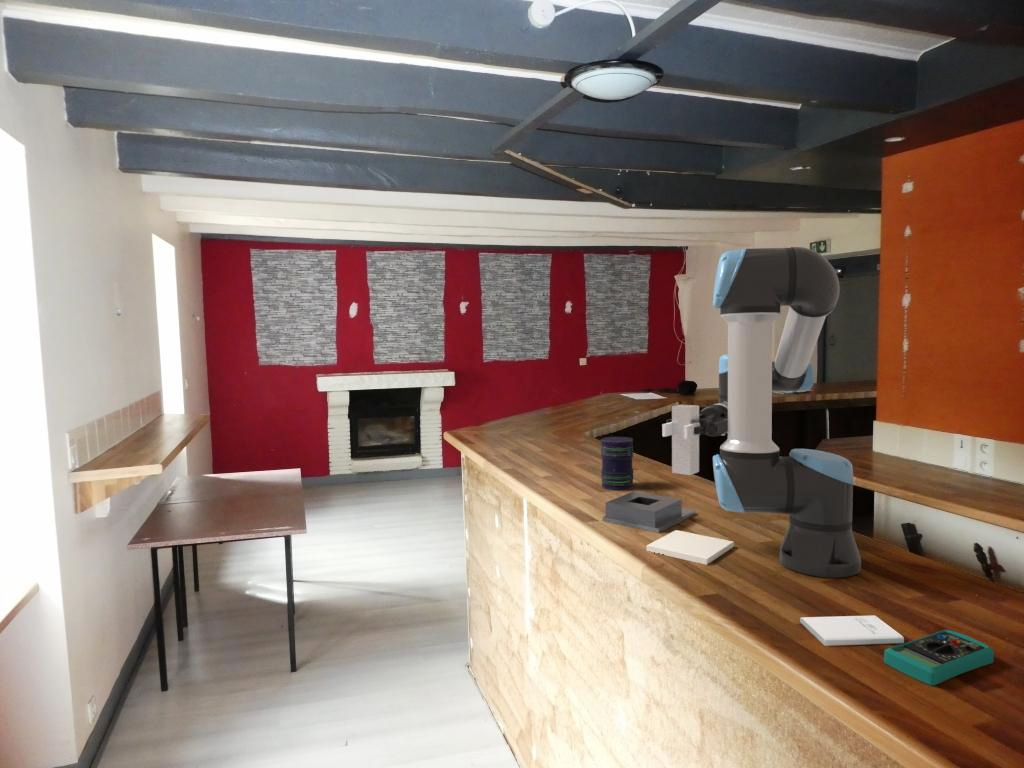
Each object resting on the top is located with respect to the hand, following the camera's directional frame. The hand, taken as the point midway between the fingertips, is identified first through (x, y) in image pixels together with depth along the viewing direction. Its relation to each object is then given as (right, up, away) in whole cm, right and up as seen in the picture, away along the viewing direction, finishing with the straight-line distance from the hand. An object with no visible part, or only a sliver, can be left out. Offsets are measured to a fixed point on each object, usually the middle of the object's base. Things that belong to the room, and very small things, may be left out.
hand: (674, 431), depth 143 cm
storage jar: (-3, -22, +60) cm, 64 cm away
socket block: (0, -24, +27) cm, 37 cm away
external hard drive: (+19, -30, -37) cm, 52 cm away
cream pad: (+4, -26, +3) cm, 27 cm away
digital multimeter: (+27, -31, -47) cm, 63 cm away
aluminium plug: (+4, -10, +5) cm, 11 cm away
